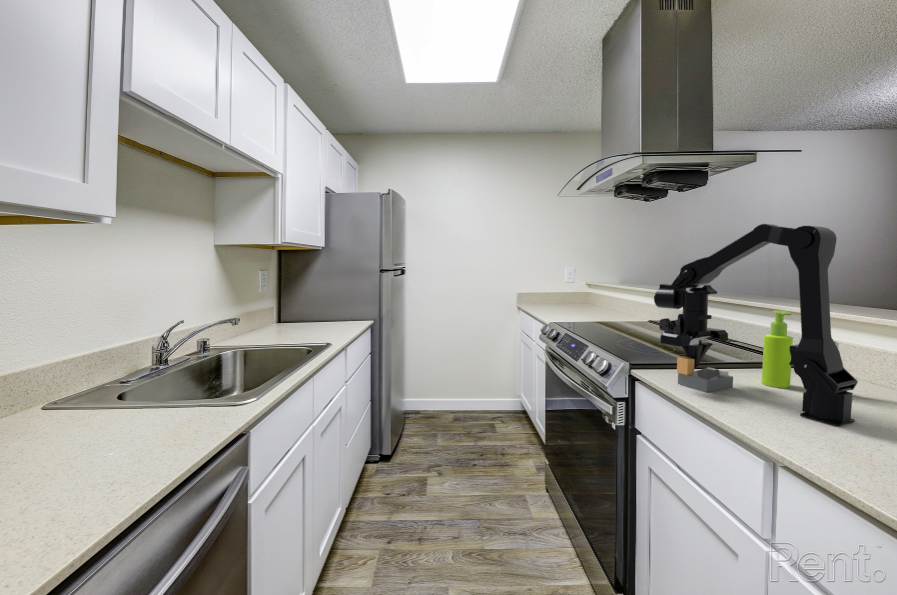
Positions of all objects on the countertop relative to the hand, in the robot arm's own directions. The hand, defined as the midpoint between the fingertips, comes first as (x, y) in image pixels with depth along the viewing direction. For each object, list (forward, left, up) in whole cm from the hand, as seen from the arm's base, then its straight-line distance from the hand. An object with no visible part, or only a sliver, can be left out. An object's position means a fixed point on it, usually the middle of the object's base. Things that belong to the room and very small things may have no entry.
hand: (693, 368), depth 109 cm
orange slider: (0, +3, -1) cm, 3 cm away
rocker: (-5, +1, 0) cm, 5 cm away
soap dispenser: (-9, -19, -4) cm, 22 cm away
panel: (-2, -1, -4) cm, 5 cm away
